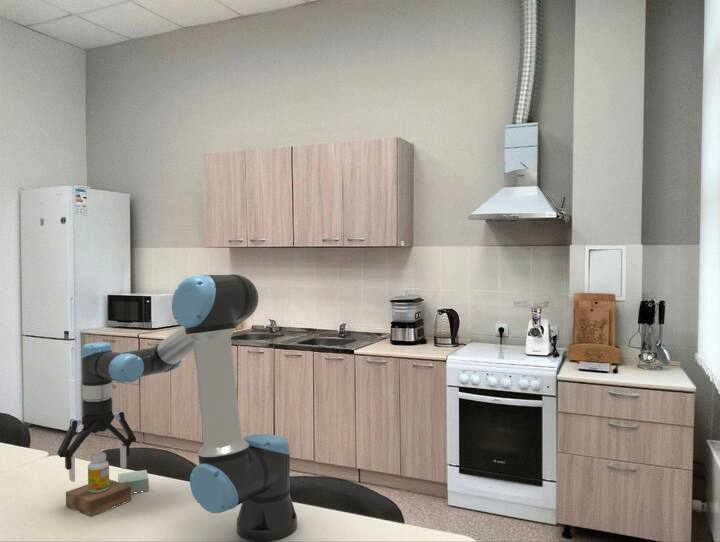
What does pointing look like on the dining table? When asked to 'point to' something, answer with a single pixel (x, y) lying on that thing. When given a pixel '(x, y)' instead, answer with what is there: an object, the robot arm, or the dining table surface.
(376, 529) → the dining table surface
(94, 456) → the supplement bottle
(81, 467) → the dining table surface
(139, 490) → the greygreen block
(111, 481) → the walnut block
